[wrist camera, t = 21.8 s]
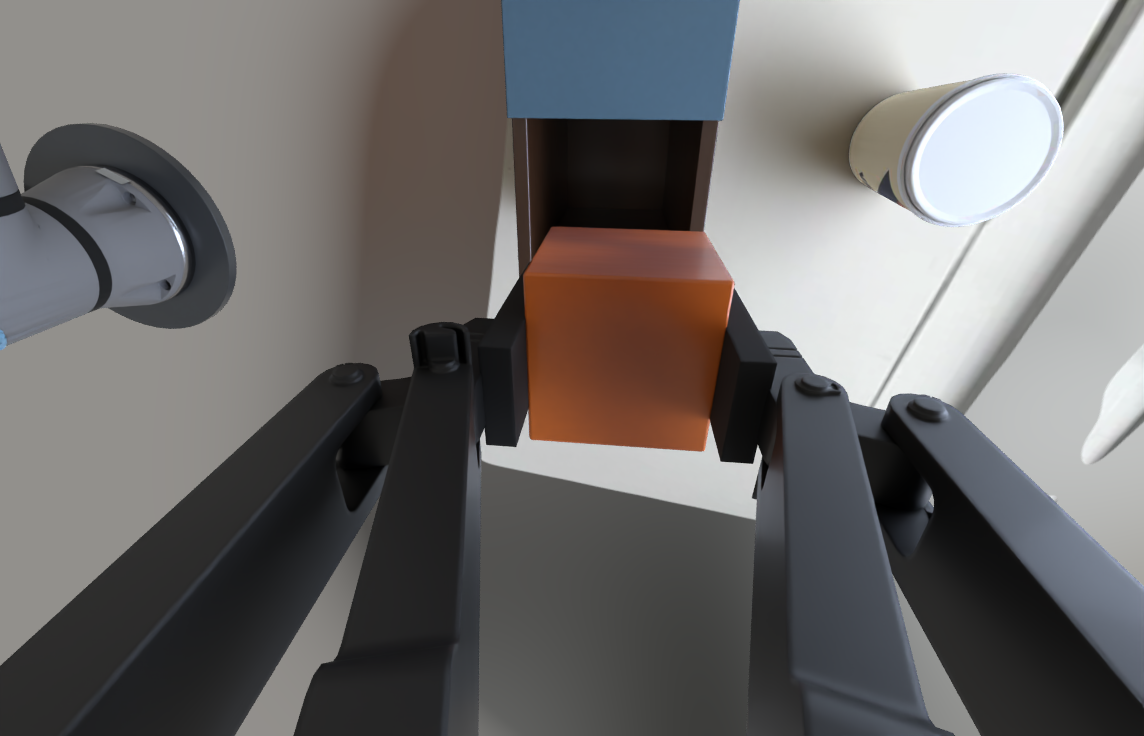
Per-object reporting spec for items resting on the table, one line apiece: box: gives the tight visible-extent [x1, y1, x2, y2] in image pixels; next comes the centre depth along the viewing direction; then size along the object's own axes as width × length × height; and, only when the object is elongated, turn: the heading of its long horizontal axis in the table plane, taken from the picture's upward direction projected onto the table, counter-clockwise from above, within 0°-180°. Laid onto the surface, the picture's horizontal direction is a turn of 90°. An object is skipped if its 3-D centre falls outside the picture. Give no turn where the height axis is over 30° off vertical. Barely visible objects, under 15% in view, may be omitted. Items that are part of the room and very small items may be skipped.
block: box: [523, 227, 735, 451], centre depth 15 cm, size 5×5×5 cm
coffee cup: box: [849, 73, 1063, 227], centre depth 37 cm, size 9×9×12 cm
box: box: [512, 118, 719, 277], centre depth 35 cm, size 11×16×21 cm
